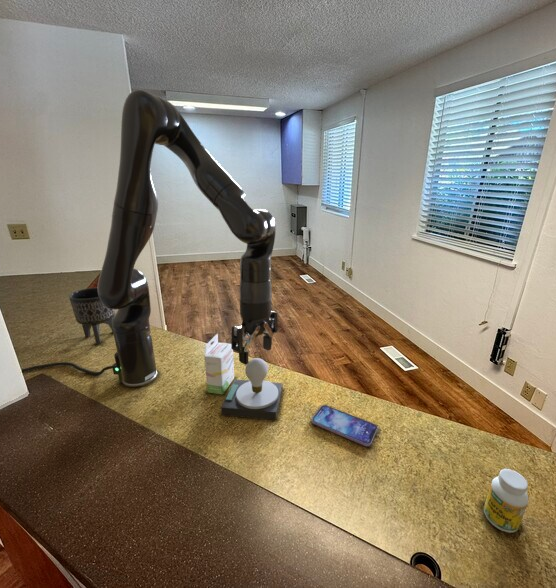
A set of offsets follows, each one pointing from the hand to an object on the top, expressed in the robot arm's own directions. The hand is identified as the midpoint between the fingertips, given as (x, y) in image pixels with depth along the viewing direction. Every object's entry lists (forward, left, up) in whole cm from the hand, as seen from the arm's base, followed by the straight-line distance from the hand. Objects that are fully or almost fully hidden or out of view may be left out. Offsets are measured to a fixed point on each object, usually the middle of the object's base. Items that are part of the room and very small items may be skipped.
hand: (256, 356), depth 77 cm
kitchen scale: (-1, 0, -14) cm, 14 cm away
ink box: (-12, +6, -15) cm, 20 cm away
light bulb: (0, 0, -11) cm, 11 cm away
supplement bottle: (+50, -25, -15) cm, 58 cm away
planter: (-66, +28, -15) cm, 73 cm away
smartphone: (+23, -6, -14) cm, 28 cm away
